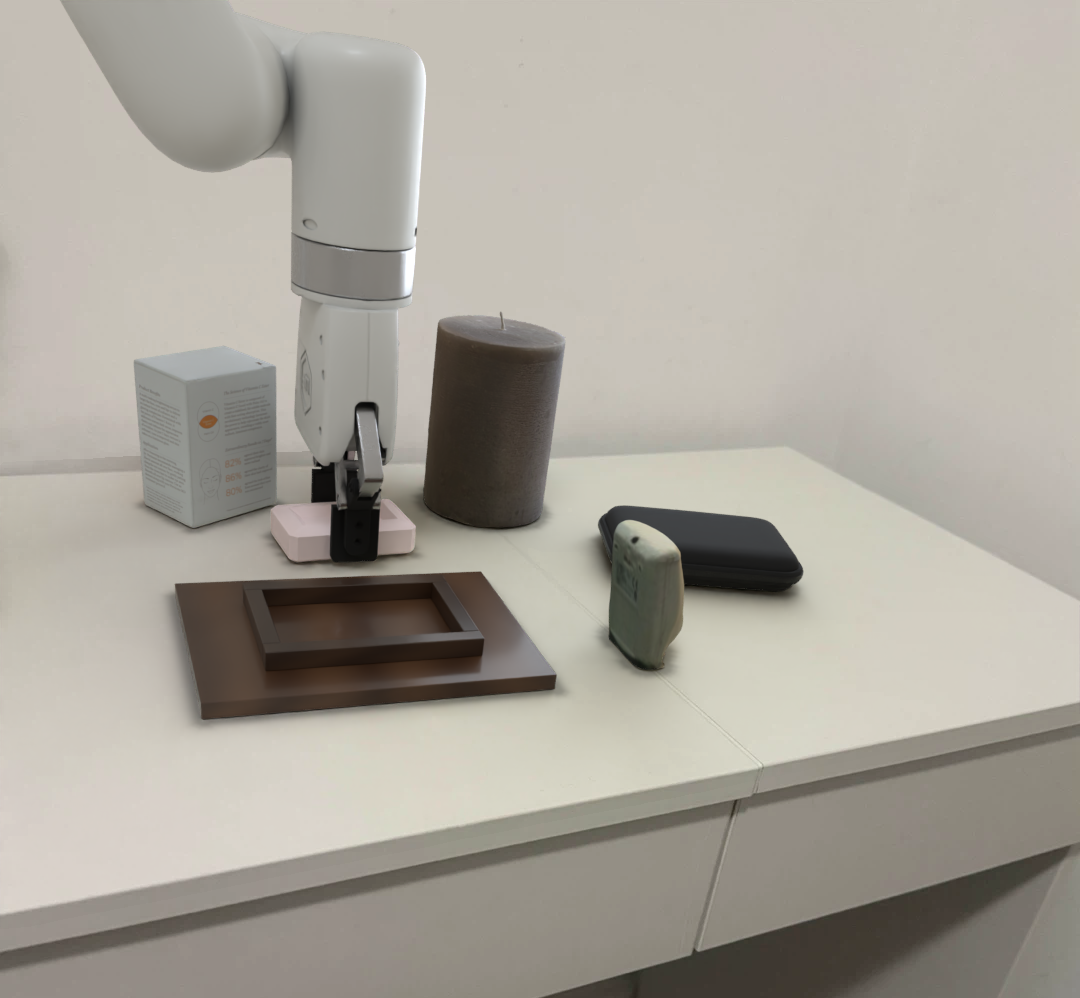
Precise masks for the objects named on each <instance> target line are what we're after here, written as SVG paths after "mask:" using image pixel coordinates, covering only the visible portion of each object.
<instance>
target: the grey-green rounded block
mask: <svg viewBox="0 0 1080 998" xmlns="http://www.w3.org/2000/svg"><path fill="white" fill-rule="evenodd" d="M684 602H685V584H684V580H683V571H682V565H681V554H680V551H679V549H678V548H677V546H676V545H675V544H674V543H673V542H672V541H671V540H670V539H669V538H668V537H667V536H665V535H664V534H663V533H661V532H659V531H658V530H656V529H654V528H652V527H650V526H648V525H646V524H643V523H641V522H638V521H634V520H625V521H623V522H621V523H619V524H618V526H617V527H616V529H615V532H614V540H613V553H612V563H611V574H610V592H609V602H608V639H609V641H610V642H611V643H612V644H614V646H616V647H617V649H618V650H619V651H620V652H621V654H623V655H624V657H626V659H627V660H628V661H629V662H630V663H631V665H633V666H634V667H636V668H639V669H640V670H645V671H646V670H647V671H651V670H652V671H653V670H659V669H662V668H665V662H664V660H663V659H664V657H665V656H666V655H667V654H666V650H667V648H668V647H669V645H671V644H672V642H674V640H675V639H676V638H677V637H678V636H679V634H680V632H681V631H682V628H683V625H684Z"/></svg>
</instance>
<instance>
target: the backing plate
mask: <svg viewBox="0 0 1080 998" xmlns="http://www.w3.org/2000/svg"><path fill="white" fill-rule="evenodd" d="M174 597H175V602H176V607H177V612H178V616H179V621H180V626H181V630H182V635H183V640H184V644H185V648H186V653H187V658H188V662H189V667H190V673H191V676H192V681H193V687H194V691H195V696H196V700H197V705H198V709H199V714H200V718H201V720H207V719H220V718H233V717H242V716H243V717H244V716H255V715H267V714H279V713H289V712H290V713H291V712H302V711H303V712H304V711H313V710H325V709H336V708H337V709H338V708H346V707H347V708H348V707H358V706H359V707H360V706H371V705H384V704H395V703H407V702H418V701H419V702H420V701H430V700H441V699H452V698H453V699H455V698H464V697H476V696H478V697H479V696H488V695H500V694H501V695H502V694H511V693H523V692H535V691H546V690H547V691H548V690H554V689H555V688H556V682H557V676H558V675H557V673H556V672H555V671H554V669H553V668H552V666H551V665H550V663H549V662H548V661H547V659H546V658H545V657H544V655H543V654H542V653H541V651H540V650H539V649H538V647H537V646H536V644H535V643H534V642H533V640H532V639H531V637H530V636H529V635H528V634H527V632H526V630H524V628H523V627H522V625H521V624H520V622H519V621H518V620H517V618H516V617H515V615H514V614H513V613H512V612H511V610H510V609H509V608H508V606H507V605H506V603H505V602H504V601H503V599H502V598H501V596H500V595H499V594H498V592H497V590H495V588H494V587H493V586H492V584H491V583H490V581H489V580H488V579H487V578H486V576H485V575H484V573H483V572H482V571H458V572H457V571H455V572H454V571H453V572H432V573H430V572H428V573H404V574H381V575H380V574H379V575H357V576H356V575H353V576H331V577H330V576H329V577H328V576H327V577H326V576H325V577H305V578H303V577H301V578H279V579H277V578H275V579H254V580H253V579H252V580H232V581H231V580H229V581H228V580H226V581H202V582H201V581H200V582H179V583H177V582H175V583H174Z"/></svg>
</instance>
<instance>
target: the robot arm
mask: <svg viewBox="0 0 1080 998" xmlns="http://www.w3.org/2000/svg"><path fill="white" fill-rule="evenodd" d="M59 1H60V3H61V5H62V6H63V8H64V10H65V12H66V14H67V15H68V18H69V19H70V21H71V23H72V24H73V26H74V27H75V29H76V31H77V33H78V34H79V36H80V38H81V39H82V41H83V42H84V44H85V45H86V48H87V49H88V51H89V52H90V54H91V56H92V58H93V60H94V61H95V63H96V65H97V66H98V68H99V70H100V71H101V73H102V74H103V77H104V78H105V80H106V81H107V83H108V84H109V86H110V88H111V90H112V91H113V93H114V95H115V96H116V98H117V99H118V101H119V103H120V105H121V106H122V107H123V109H124V110H125V112H126V114H127V115H128V117H129V118H130V120H131V121H132V122H133V124H134V125H135V126H136V127H137V129H138V130H139V131H140V133H141V134H142V135H143V136H144V137H145V138H146V139H147V141H148V142H150V143H151V145H152V146H153V147H155V148H156V150H158V151H159V152H160V153H161V154H163V155H164V156H166V158H168V159H169V160H171V161H173V162H175V163H176V164H178V165H180V166H182V167H184V168H188V169H190V170H193V171H197V172H201V173H222V172H227V171H231V170H234V169H236V168H239V167H242V166H244V165H246V164H248V163H250V162H252V161H256V160H260V159H267V158H272V159H273V158H278V159H280V158H281V159H290V161H291V217H290V218H291V219H290V221H291V222H290V223H291V225H290V226H291V227H290V230H291V232H290V237H291V238H290V291H291V292H292V293H293V294H295V295H296V296H298V297H301V299H300V305H299V307H300V308H299V318H298V328H297V329H298V331H297V345H296V346H297V347H296V364H295V365H296V366H295V367H296V368H295V384H294V385H295V386H294V387H295V388H294V404H293V405H294V407H293V413H294V414H293V416H294V422H295V425H296V428H297V430H298V432H299V434H300V435H301V437H302V439H303V441H304V443H305V445H306V446H307V447H308V448H307V449H308V450H309V451H310V453H311V455H312V464H313V467H314V468H311V486H310V487H311V488H310V494H311V495H310V503H320V502H336V504H331V527H330V557H331V561H332V562H334V563H360V562H362V563H365V562H374V561H376V560H377V559H378V538H379V520H380V506H381V499H382V498H381V497H382V496H381V492H382V488H381V487H382V485H383V484H384V467H385V466H386V465H387V464H389V463H390V462H391V460H392V459H393V456H394V451H395V444H396V443H395V442H396V434H397V433H396V432H397V416H398V396H399V395H398V393H399V346H400V339H399V309H403V308H408V307H410V306H411V305H412V303H413V292H414V279H415V267H416V265H415V264H416V251H417V250H416V249H417V247H416V246H417V245H416V244H417V236H418V235H417V233H418V218H419V217H418V216H419V202H420V187H421V171H422V159H423V157H422V156H423V143H424V142H423V141H424V126H425V111H426V109H425V108H426V98H427V97H426V95H427V73H426V69H425V64H424V62H423V59H422V58H421V56H420V54H418V53H417V51H416V50H414V49H412V48H411V47H410V46H408V45H405V44H402V43H399V42H395V41H390V40H385V39H380V38H376V37H375V38H374V37H368V36H363V35H356V34H350V33H343V32H341V33H340V32H331V31H312V32H310V33H308V32H303V31H299V30H295V29H291V28H288V27H285V26H280V25H278V24H275V23H271V22H268V21H266V20H262V19H259V18H256V17H254V16H250V15H248V14H244V13H240V12H237V11H235V10H234V8H233V6H232V4H231V2H230V0H59ZM356 455H357V456H356ZM355 457H357V459H355Z"/></svg>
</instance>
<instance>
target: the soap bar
mask: <svg viewBox="0 0 1080 998" xmlns="http://www.w3.org/2000/svg"><path fill="white" fill-rule="evenodd" d="M331 504H336V502H320V503H311V502H305V503H303V502H302V503H289V504H286V503H285V504H277V505H275V506H273V507H272V508H270V534H271V535H272V537H273V538H274V539H275V541H276V542H277V544H278V545H279V547H280V548H281V550H282V551H283V552H284V554H285V555H286V556H287V558H288V559H289V560H290V561H292V562H294V563H305V562H318V561H329V560H331V561H332V559H331V557H330V527H331ZM416 531H417V525H416V524H415V523H414V522H413V521H412V520H411V519H410V518H409V517H408V516H407V515H406V513H404V512H403V510H401V509H400V508H399V506H397V504H396V503H395V502H394V501H392V500H391V499H389V498H381V506H380V520H379V538H378V556H390V555H391V556H392V555H402V554H410V553H411V552H412V551H414V550H415V545H416ZM378 556H377V557H378Z"/></svg>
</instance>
